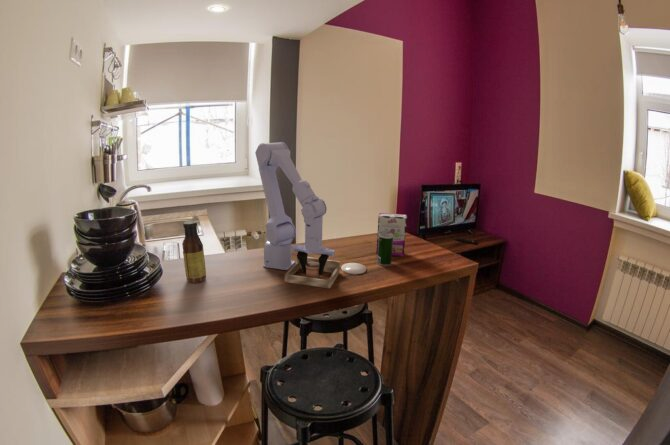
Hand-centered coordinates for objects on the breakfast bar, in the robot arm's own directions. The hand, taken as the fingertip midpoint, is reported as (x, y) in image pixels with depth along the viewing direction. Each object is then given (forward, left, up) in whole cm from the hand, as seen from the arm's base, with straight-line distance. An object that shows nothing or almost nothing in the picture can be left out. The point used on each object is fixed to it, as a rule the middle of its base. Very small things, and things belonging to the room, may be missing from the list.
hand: (312, 273), depth 126 cm
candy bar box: (+23, +31, -2) cm, 39 cm away
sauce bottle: (-36, -14, -2) cm, 39 cm away
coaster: (+12, +11, -1) cm, 16 cm away
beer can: (+22, +20, -2) cm, 30 cm away
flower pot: (0, 0, -1) cm, 1 cm away
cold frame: (0, 0, -1) cm, 1 cm away
